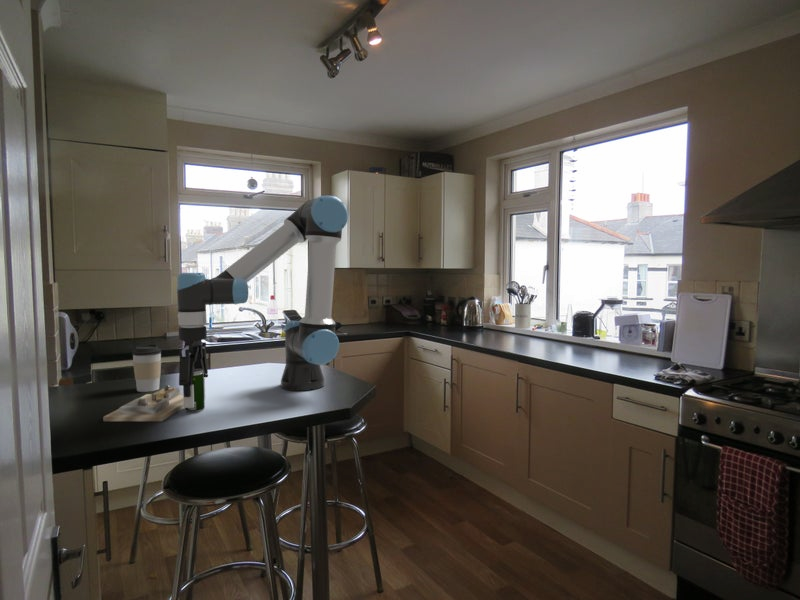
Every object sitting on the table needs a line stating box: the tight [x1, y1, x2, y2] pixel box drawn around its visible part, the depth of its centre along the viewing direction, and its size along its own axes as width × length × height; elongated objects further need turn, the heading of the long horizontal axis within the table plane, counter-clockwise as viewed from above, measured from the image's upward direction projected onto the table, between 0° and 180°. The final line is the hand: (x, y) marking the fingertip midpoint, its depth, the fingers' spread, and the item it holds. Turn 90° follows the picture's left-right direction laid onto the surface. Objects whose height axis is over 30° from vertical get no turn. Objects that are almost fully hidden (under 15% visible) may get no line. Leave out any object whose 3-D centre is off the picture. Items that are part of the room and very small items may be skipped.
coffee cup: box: [131, 344, 162, 393], centre depth 173 cm, size 9×9×15 cm
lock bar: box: [156, 384, 176, 401], centre depth 158 cm, size 2×8×3 cm, turn 0°
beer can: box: [184, 369, 206, 414], centre depth 148 cm, size 5×5×12 cm
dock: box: [102, 387, 184, 422], centre depth 150 cm, size 16×24×3 cm, turn 0°
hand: (194, 403), depth 148 cm, fingers open, 8 cm apart
